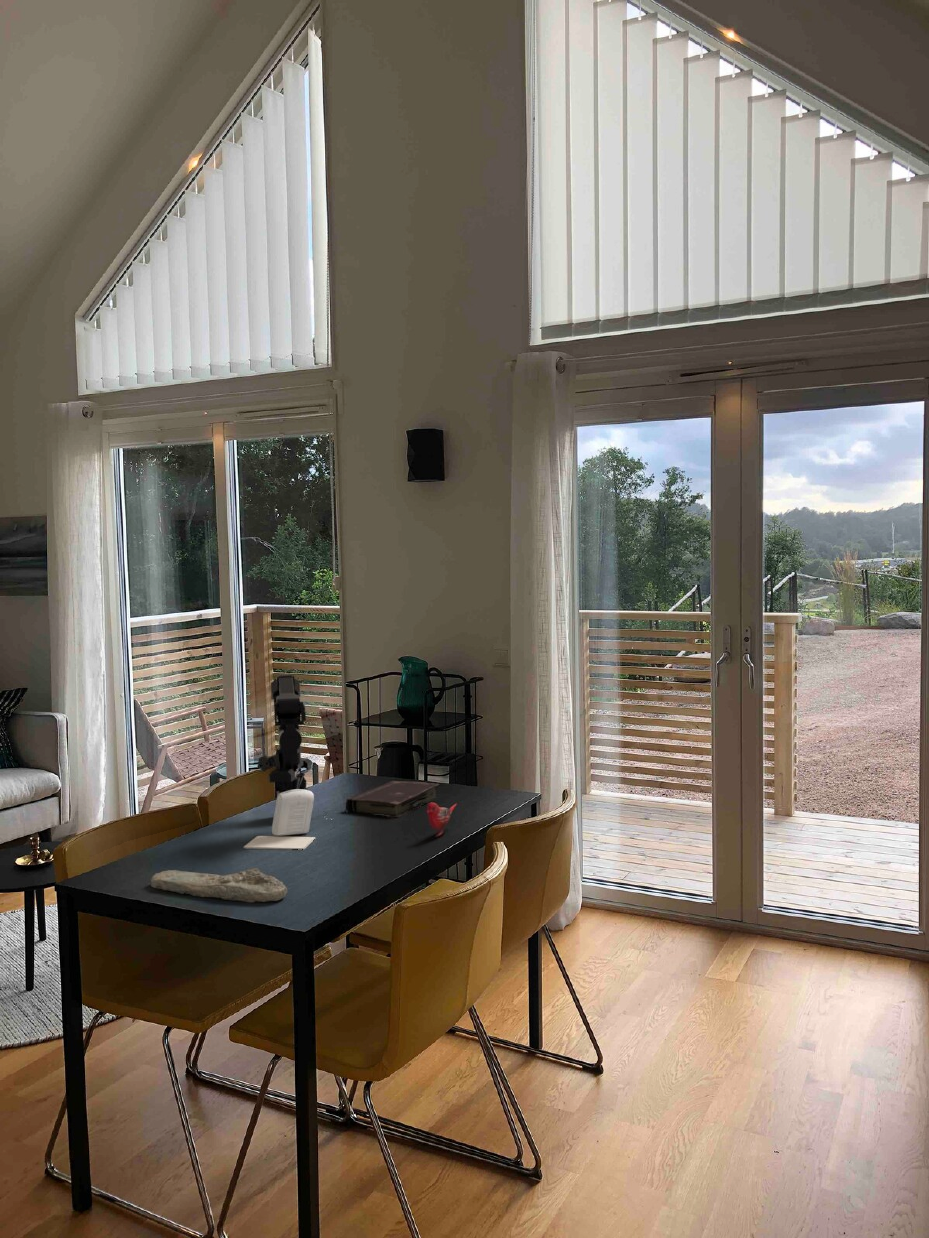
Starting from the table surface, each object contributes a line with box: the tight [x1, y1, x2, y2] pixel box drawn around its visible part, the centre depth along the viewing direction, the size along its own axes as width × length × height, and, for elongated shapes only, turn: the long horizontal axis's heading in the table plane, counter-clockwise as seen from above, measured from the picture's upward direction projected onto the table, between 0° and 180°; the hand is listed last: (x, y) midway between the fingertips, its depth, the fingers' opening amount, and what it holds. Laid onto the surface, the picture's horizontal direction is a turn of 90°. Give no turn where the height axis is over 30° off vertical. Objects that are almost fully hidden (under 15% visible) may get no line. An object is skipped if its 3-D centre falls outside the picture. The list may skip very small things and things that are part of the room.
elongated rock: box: [150, 868, 288, 903], centre depth 225 cm, size 35×5×10 cm
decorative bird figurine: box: [426, 801, 458, 838], centre depth 268 cm, size 3×18×10 cm, turn 155°
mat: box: [243, 835, 316, 851], centre depth 263 cm, size 10×16×1 cm, turn 81°
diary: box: [345, 780, 440, 818], centre depth 301 cm, size 19×25×5 cm
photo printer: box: [271, 789, 315, 836], centre depth 269 cm, size 10×4×12 cm, turn 123°
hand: (291, 801), depth 272 cm, fingers closed
